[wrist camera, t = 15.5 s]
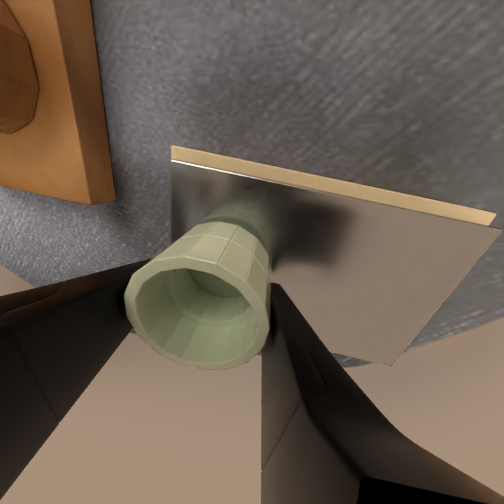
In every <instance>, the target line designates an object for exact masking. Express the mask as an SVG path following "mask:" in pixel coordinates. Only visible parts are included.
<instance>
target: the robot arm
mask: <svg viewBox="0 0 504 504" xmlns="http://www.w3.org/2000/svg"><path fill="white" fill-rule="evenodd" d="M151 259H153V258H151ZM151 259H147V260H143V261H139V262H136V263H132V264H128V265H124V266H120V267H116V268H112V269H109V270H105V271H101V272H97V273H93V274H89V275H85V276H81V277H78V278H74V279H70V280H66V281H65V282H64V281H62V282H58V283H54V284H50V285H46V286H42V287H38V288H34V289H30V290H26V291H21V292H17V293H12V294H9V295H4V296H0V500H1V498H2V497H3V496H4V495H5V493H6V492H7V491H8V489H9V488H10V487H11V485H12V484H13V483H14V482H15V480H16V479H17V478H18V476H19V475H20V474H21V472H22V471H23V470H24V469H25V467H26V466H27V465H28V463H29V462H30V460H31V459H32V458H33V457H34V456H35V454H36V453H37V452H38V450H39V449H40V448H41V447H42V445H43V444H44V443H45V441H46V440H47V439H48V437H49V436H50V435H51V434H52V432H53V431H54V430H55V428H56V427H57V425H58V424H59V422H60V421H61V420H62V419H63V418H64V416H65V415H66V414H67V412H68V411H69V410H70V409H71V407H72V406H73V405H74V403H75V402H76V401H77V399H78V398H79V397H80V395H81V394H82V393H83V392H84V390H85V389H86V388H87V387H88V385H89V384H90V383H91V381H92V380H93V379H94V377H95V376H96V375H97V373H98V372H99V371H100V370H101V368H102V367H103V366H104V364H105V363H106V362H107V360H108V359H109V358H110V356H111V355H112V354H113V353H114V352H115V350H116V349H117V348H118V346H119V345H120V343H121V342H122V341H123V340H124V339H125V337H126V336H127V335H128V333H129V332H130V331H131V329H132V328H133V326H132V325H131V323H130V322H129V320H128V318H127V315H126V308H125V301H124V293H125V291H126V288H127V286H128V284H129V281H130V279H131V277H132V275H133V274H134V273H135V272H136V271H137V270H139V269H140V268H141V267H142V266H144V265H145V264H146V263H148V262H149V261H150V260H151ZM319 339H320V338H319V337H318V335H317V334H316V333H315V331H314V330H313V329H312V327H311V326H310V324H309V323H308V322H307V320H306V319H305V318H304V316H303V315H302V314H301V312H300V311H299V309H298V308H297V307H296V305H295V304H294V303H293V301H292V300H291V299H290V297H289V296H288V294H287V293H286V292H285V290H284V289H283V288H282V286H281V285H280V284H278V283H273V282H272V283H271V311H270V330H269V333H268V336H267V339H266V342H265V345H264V348H263V349H262V427H261V429H262V431H261V433H262V434H261V438H262V440H261V441H262V442H261V451H262V452H261V470H262V473H261V504H504V497H503V496H501V495H500V494H498V493H497V492H495V491H493V490H492V489H490V488H488V487H487V486H485V485H483V484H482V483H480V482H478V481H477V480H475V479H473V478H472V477H470V476H468V475H467V474H465V473H463V472H462V471H460V470H458V469H456V468H455V467H453V466H452V465H450V464H448V463H447V462H445V461H443V460H442V459H440V458H438V457H437V456H435V455H433V454H432V453H430V452H428V451H427V450H425V449H423V448H421V447H420V446H418V445H417V444H415V443H414V442H412V441H411V440H410V439H408V438H407V437H406V436H404V435H403V434H402V433H401V432H399V430H397V429H396V428H395V427H394V426H393V425H392V424H391V423H390V422H389V421H388V420H387V418H386V417H385V416H384V415H383V414H382V413H381V412H380V411H379V410H378V409H377V407H376V406H375V405H374V404H373V403H372V401H371V400H370V399H369V398H368V397H367V396H366V394H365V393H364V392H363V391H362V390H361V389H360V388H359V387H358V385H357V384H356V383H355V382H354V381H353V379H352V378H351V377H350V376H349V375H348V374H347V372H346V371H345V370H344V369H343V368H342V366H341V365H340V364H339V363H338V362H337V360H336V359H335V358H334V357H333V355H332V354H331V353H330V351H329V350H328V349H327V347H326V346H325V345H324V343H323V342H322V341H321V340H319Z"/></svg>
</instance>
